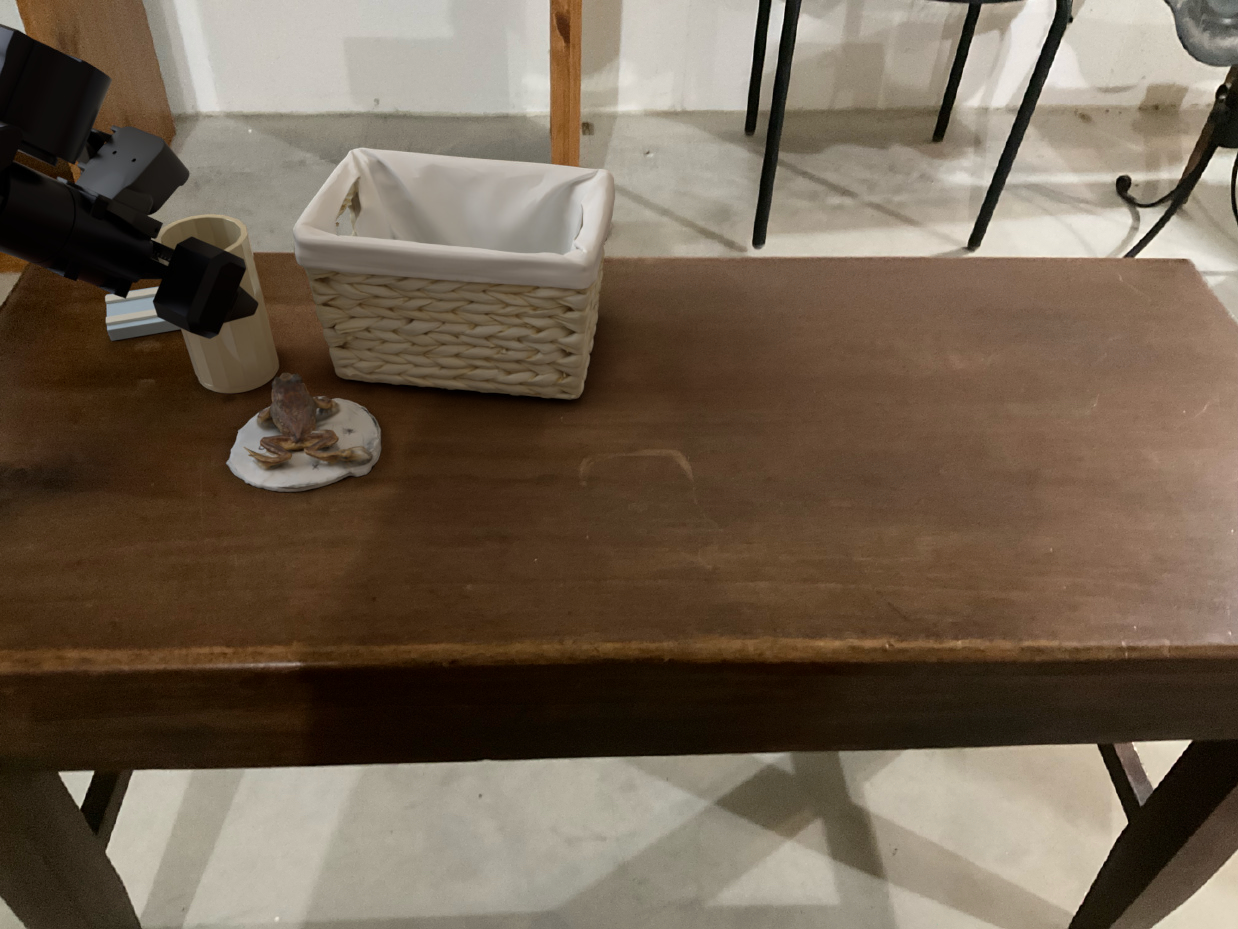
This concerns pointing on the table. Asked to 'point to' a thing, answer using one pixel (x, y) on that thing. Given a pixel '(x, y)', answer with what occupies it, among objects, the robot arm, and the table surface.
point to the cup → (242, 344)
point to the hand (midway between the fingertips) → (214, 290)
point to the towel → (134, 315)
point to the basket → (459, 270)
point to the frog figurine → (304, 440)
